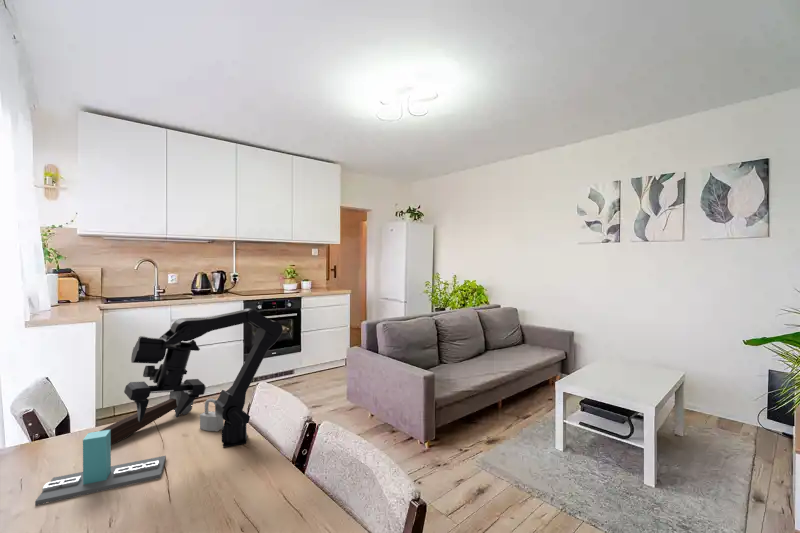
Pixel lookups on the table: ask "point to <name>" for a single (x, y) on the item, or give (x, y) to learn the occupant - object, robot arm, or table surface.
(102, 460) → the teal block
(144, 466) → the steel chain
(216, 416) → the padlock
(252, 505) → the table surface
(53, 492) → the rubber mat
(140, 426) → the hammer
